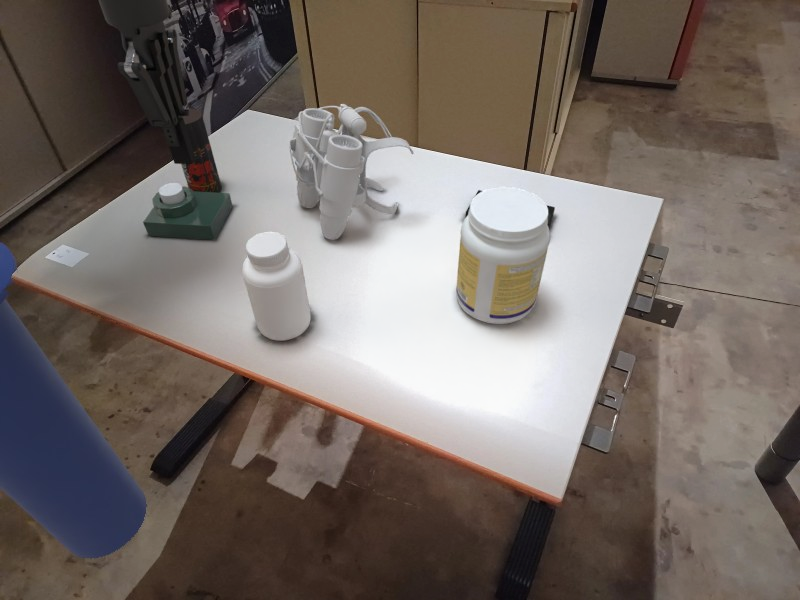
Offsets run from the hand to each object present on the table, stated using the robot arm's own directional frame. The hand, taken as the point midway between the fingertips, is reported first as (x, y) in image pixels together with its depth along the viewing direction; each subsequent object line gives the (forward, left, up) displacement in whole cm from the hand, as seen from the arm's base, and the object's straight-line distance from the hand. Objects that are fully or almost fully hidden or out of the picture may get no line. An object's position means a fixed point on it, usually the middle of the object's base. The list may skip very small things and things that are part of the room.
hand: (185, 161), depth 82 cm
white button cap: (-9, +7, -12) cm, 17 cm away
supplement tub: (+47, -7, -17) cm, 51 cm away
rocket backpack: (+22, +15, -17) cm, 32 cm away
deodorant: (-8, +18, -17) cm, 26 cm away
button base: (-7, +8, -17) cm, 20 cm away
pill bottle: (+16, -15, -17) cm, 28 cm away
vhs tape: (+50, +14, -17) cm, 55 cm away
